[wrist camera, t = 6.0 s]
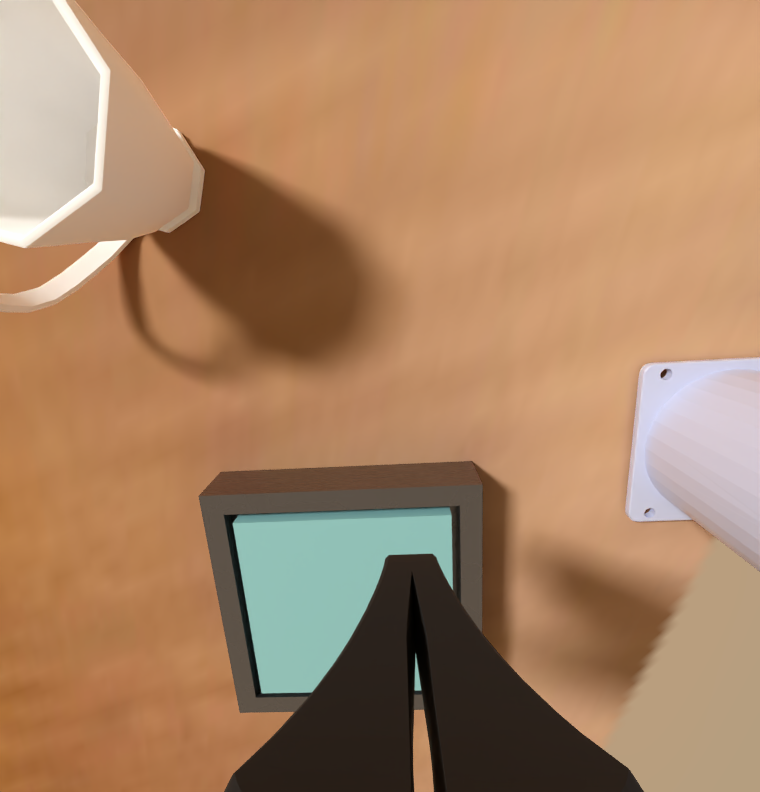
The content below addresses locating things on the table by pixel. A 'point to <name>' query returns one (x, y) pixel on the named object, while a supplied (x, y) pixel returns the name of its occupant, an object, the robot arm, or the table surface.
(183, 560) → the table surface
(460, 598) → the plate housing
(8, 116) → the cup
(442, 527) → the plate
